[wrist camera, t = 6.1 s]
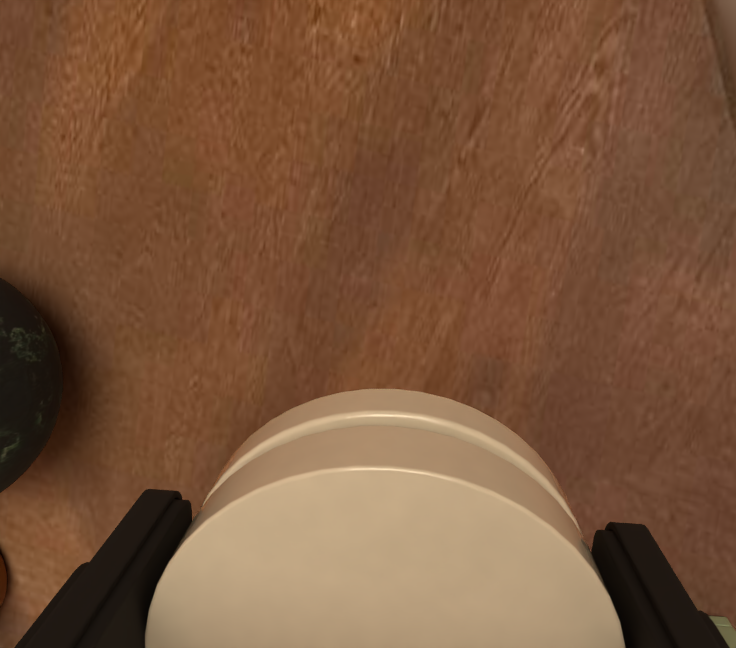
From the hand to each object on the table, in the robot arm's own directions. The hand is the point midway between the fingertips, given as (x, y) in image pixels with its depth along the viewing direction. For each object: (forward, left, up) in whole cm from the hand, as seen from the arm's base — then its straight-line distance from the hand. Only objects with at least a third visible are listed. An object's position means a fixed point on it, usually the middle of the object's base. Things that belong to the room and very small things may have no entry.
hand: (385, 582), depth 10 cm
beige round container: (0, 0, -1) cm, 1 cm away
